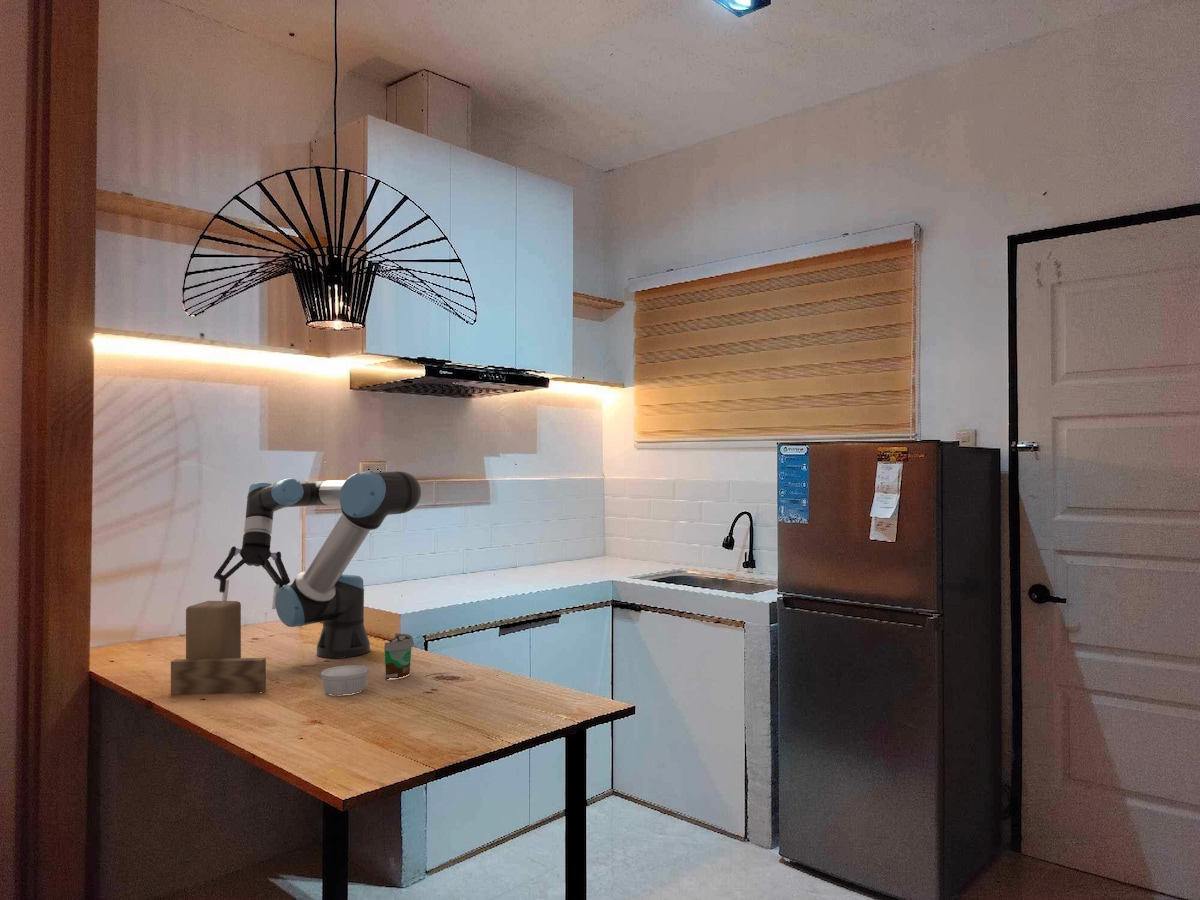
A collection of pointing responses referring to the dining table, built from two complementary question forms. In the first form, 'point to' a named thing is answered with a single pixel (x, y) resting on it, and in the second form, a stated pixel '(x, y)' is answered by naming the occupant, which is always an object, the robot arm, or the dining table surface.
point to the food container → (398, 656)
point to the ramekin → (345, 679)
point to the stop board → (218, 676)
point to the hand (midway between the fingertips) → (249, 606)
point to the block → (213, 630)
